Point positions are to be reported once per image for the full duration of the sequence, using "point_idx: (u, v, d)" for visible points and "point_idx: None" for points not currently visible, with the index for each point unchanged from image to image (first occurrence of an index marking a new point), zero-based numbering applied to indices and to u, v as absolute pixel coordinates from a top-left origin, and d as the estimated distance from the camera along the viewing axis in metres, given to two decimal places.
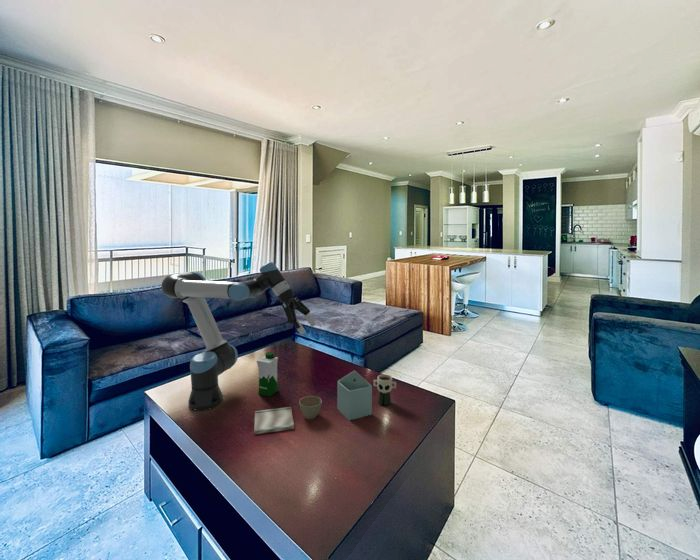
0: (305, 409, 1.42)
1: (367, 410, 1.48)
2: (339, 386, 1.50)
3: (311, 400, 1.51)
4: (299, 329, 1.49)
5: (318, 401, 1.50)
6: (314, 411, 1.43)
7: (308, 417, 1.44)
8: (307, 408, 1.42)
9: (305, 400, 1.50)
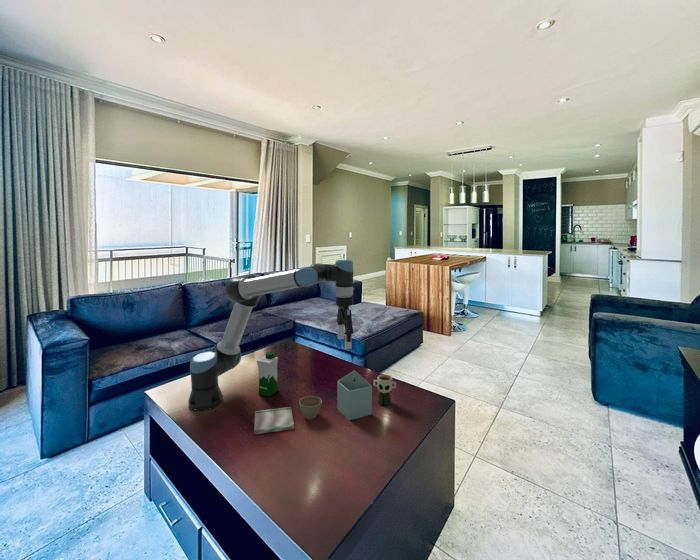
0: (305, 409, 1.42)
1: (367, 410, 1.48)
2: (339, 386, 1.50)
3: (311, 400, 1.51)
4: (347, 343, 1.38)
5: (318, 401, 1.50)
6: (314, 411, 1.43)
7: (308, 417, 1.44)
8: (307, 408, 1.42)
9: (305, 400, 1.50)
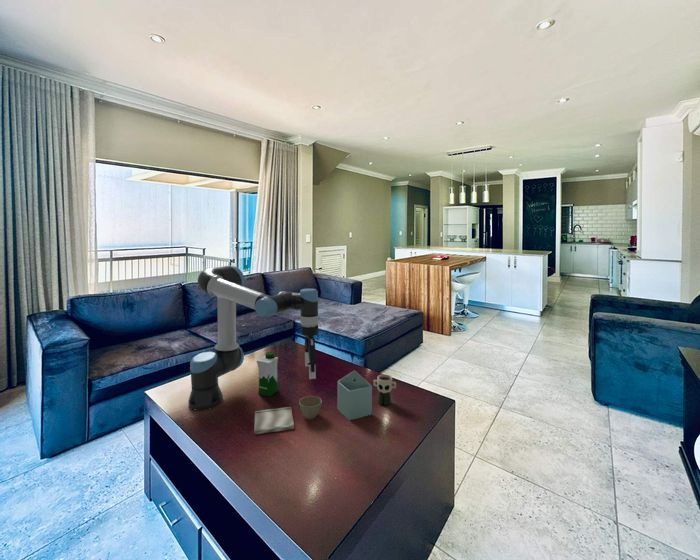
0: (305, 409, 1.42)
1: (367, 410, 1.48)
2: (339, 386, 1.50)
3: (311, 400, 1.51)
4: (311, 372, 1.38)
5: (318, 401, 1.50)
6: (314, 411, 1.43)
7: (308, 417, 1.44)
8: (307, 408, 1.42)
9: (305, 400, 1.50)
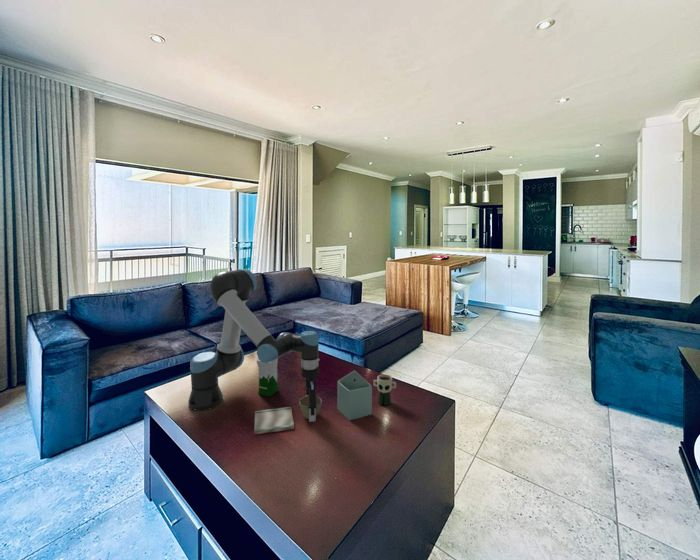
0: (305, 409, 1.42)
1: (367, 410, 1.48)
2: (339, 386, 1.50)
3: None
4: (311, 415, 1.42)
5: (318, 401, 1.50)
6: None
7: (308, 417, 1.44)
8: (307, 408, 1.42)
9: (305, 400, 1.50)
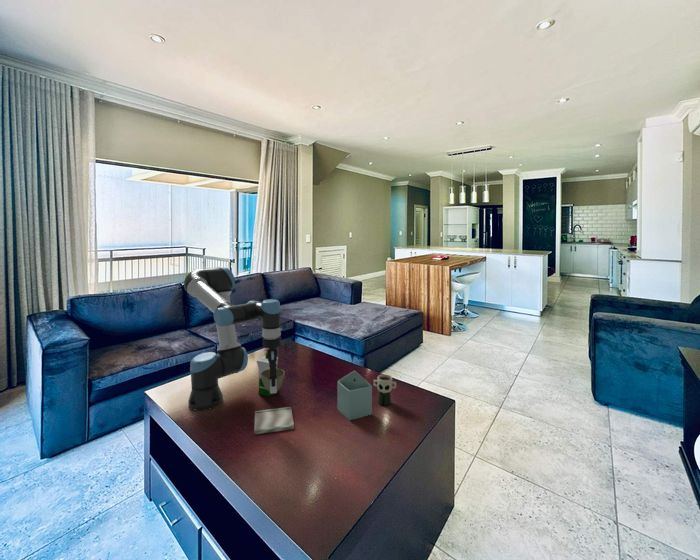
0: (266, 380, 1.36)
1: (367, 410, 1.48)
2: (339, 386, 1.50)
3: None
4: (272, 387, 1.36)
5: (281, 373, 1.44)
6: None
7: (269, 389, 1.38)
8: (268, 379, 1.36)
9: (268, 372, 1.45)
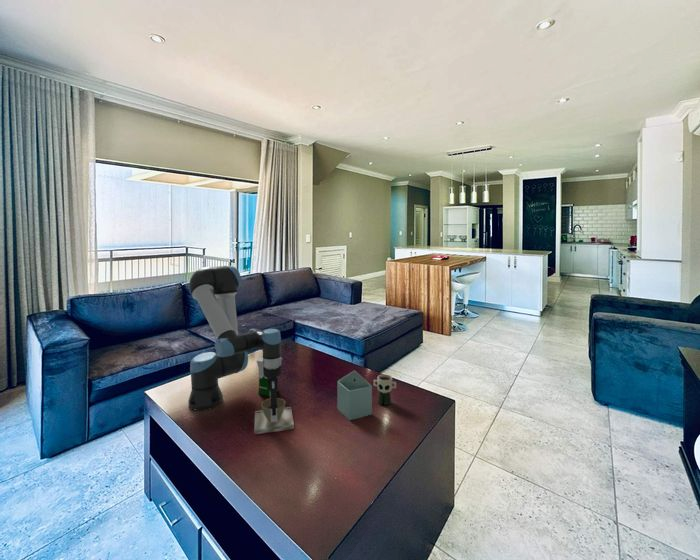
0: (267, 411, 1.38)
1: (367, 410, 1.48)
2: (339, 386, 1.50)
3: None
4: (273, 416, 1.36)
5: (282, 403, 1.46)
6: None
7: (270, 420, 1.40)
8: (269, 411, 1.38)
9: (269, 402, 1.46)
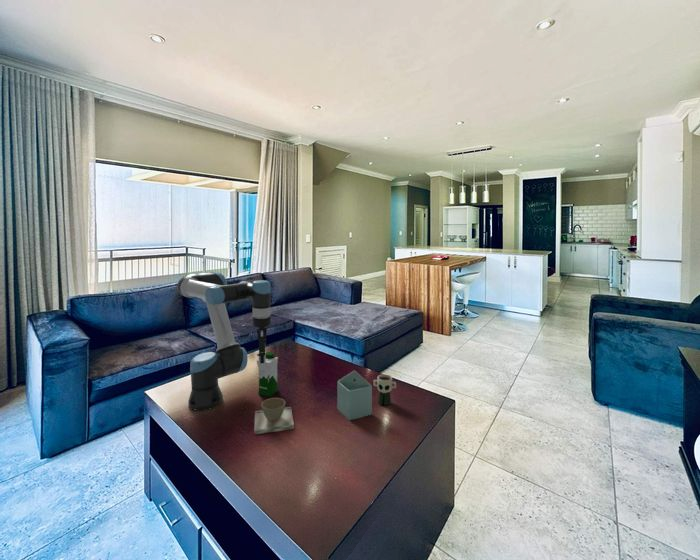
0: (267, 411, 1.38)
1: (367, 410, 1.48)
2: (339, 386, 1.50)
3: (275, 402, 1.47)
4: (261, 364, 1.39)
5: (282, 403, 1.46)
6: (276, 414, 1.39)
7: (270, 420, 1.40)
8: (269, 411, 1.38)
9: (269, 402, 1.46)
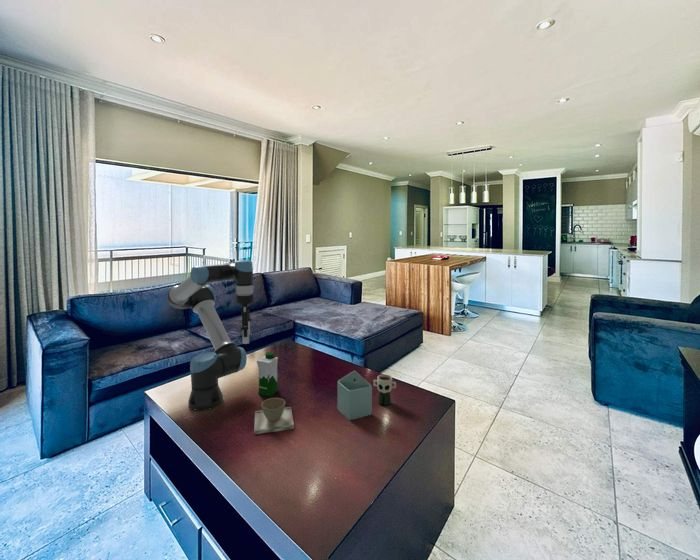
0: (267, 411, 1.38)
1: (367, 410, 1.48)
2: (339, 386, 1.50)
3: (275, 402, 1.47)
4: (244, 338, 1.47)
5: (282, 403, 1.46)
6: (276, 414, 1.39)
7: (270, 420, 1.40)
8: (269, 411, 1.38)
9: (269, 402, 1.46)
